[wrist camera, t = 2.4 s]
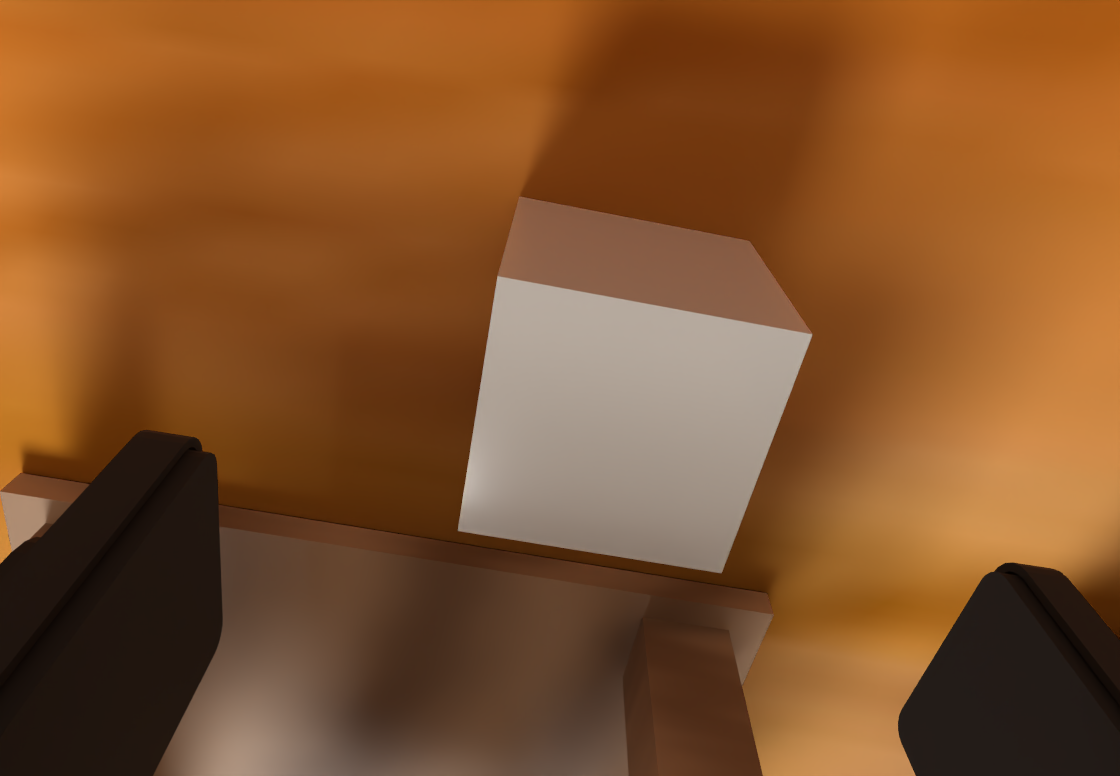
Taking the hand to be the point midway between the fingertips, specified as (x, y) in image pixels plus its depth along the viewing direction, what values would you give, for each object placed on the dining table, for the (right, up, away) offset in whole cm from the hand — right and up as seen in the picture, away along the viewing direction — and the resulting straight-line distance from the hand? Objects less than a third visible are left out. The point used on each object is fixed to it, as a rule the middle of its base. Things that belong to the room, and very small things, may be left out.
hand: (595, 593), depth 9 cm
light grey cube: (+1, +4, +8) cm, 9 cm away
